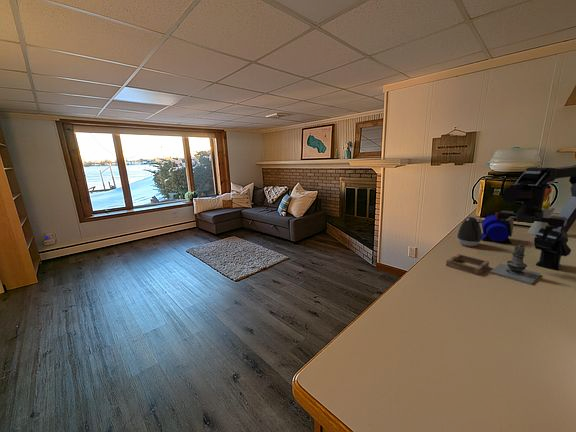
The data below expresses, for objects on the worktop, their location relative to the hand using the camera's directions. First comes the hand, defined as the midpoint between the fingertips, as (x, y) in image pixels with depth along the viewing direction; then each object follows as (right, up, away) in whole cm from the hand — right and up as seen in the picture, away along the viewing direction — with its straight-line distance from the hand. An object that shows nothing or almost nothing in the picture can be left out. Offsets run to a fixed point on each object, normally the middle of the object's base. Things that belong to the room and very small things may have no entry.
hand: (525, 239), depth 95 cm
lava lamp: (+50, -1, +43) cm, 66 cm away
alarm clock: (+19, -4, +36) cm, 41 cm away
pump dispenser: (+1, -6, +31) cm, 32 cm away
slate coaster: (-5, -14, -1) cm, 15 cm away
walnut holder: (-18, -13, +7) cm, 23 cm away
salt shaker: (-5, -13, -1) cm, 14 cm away
